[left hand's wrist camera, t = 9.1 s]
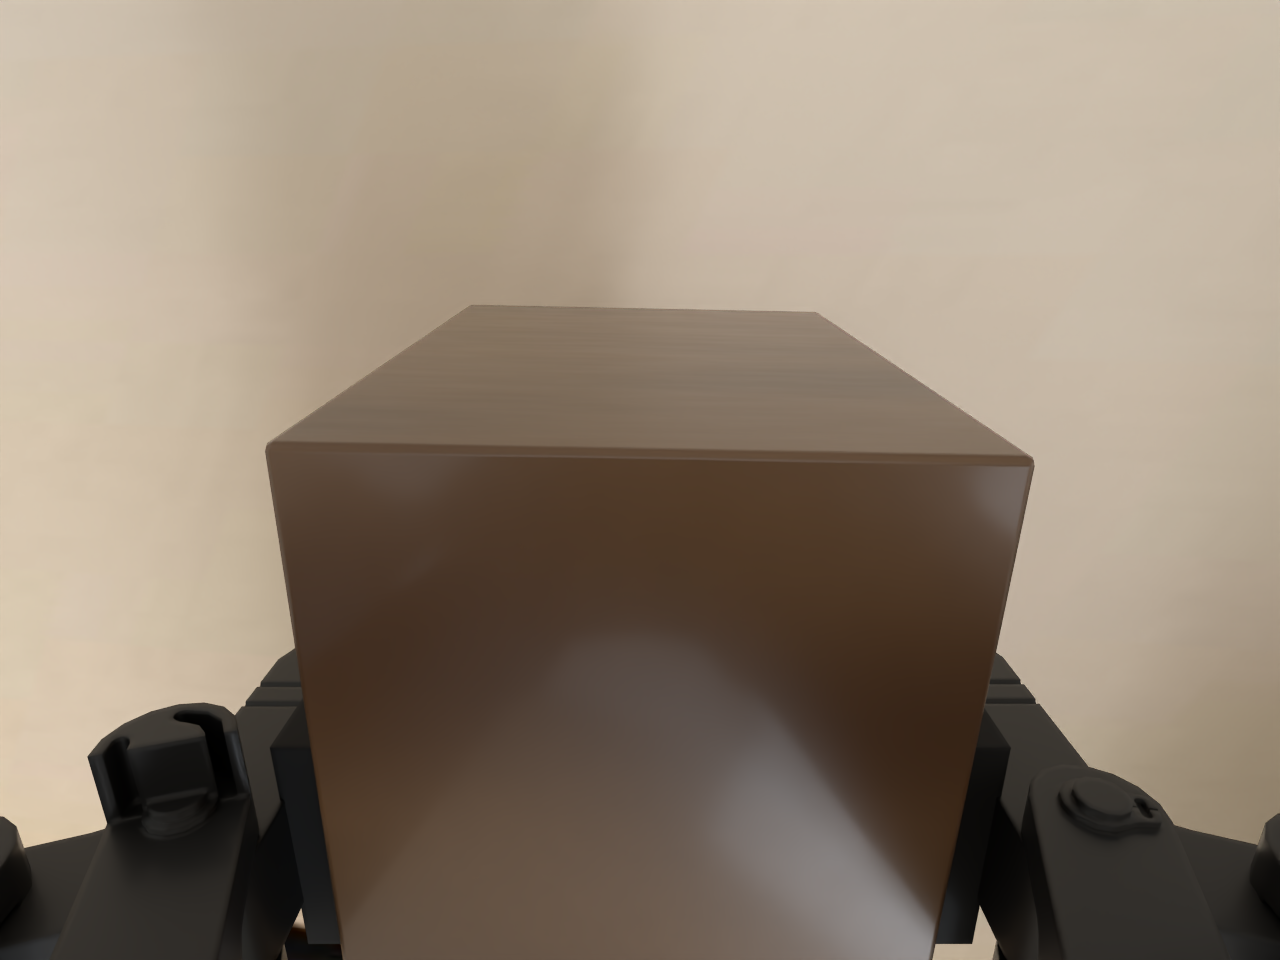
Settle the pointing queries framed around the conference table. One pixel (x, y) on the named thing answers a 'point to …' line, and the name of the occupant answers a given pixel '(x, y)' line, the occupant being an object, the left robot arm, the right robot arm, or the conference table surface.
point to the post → (643, 637)
